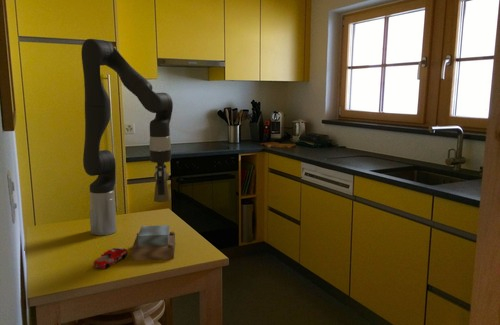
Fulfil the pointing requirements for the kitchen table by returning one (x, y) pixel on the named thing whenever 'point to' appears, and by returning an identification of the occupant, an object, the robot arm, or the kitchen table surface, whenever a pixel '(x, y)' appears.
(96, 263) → the race car
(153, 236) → the knobbed square tray
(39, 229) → the kitchen table surface
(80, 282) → the kitchen table surface
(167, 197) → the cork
